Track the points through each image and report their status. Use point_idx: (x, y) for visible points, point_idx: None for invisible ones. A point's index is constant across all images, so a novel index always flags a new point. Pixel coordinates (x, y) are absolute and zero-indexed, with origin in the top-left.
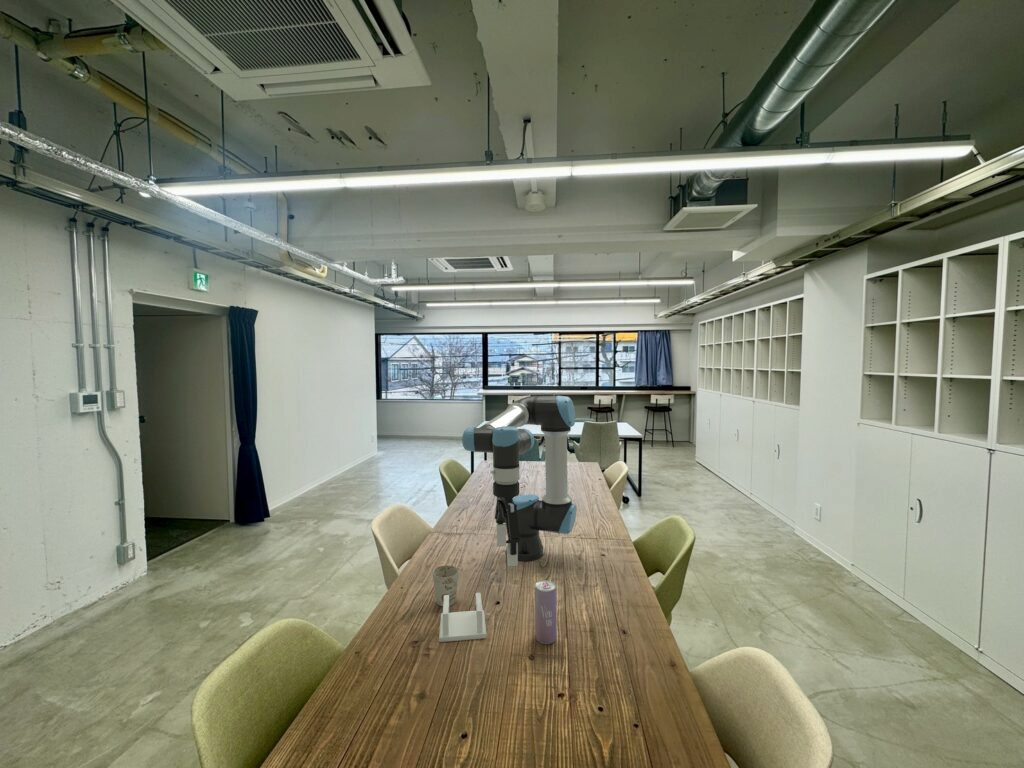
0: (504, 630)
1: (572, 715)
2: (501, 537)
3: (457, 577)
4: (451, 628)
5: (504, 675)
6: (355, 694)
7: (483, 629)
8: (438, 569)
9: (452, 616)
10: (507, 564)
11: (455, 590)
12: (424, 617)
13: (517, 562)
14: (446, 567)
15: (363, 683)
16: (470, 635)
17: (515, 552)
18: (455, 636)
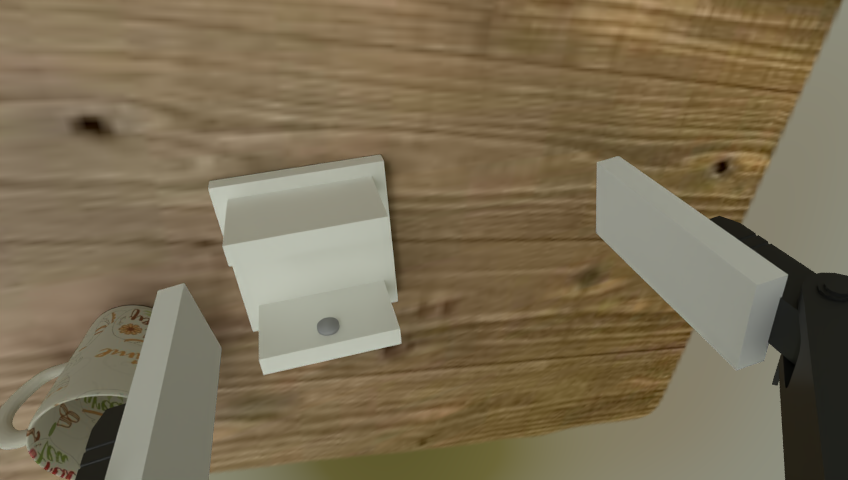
0: (330, 85)
1: None
2: (195, 384)
3: (110, 374)
4: (347, 279)
5: (573, 79)
6: (552, 389)
7: (356, 174)
8: (73, 467)
9: (271, 292)
10: (603, 235)
11: (132, 337)
12: (259, 366)
13: (633, 168)
14: (38, 447)
15: (525, 390)
16: (388, 213)
17: (745, 235)
18: (393, 258)
